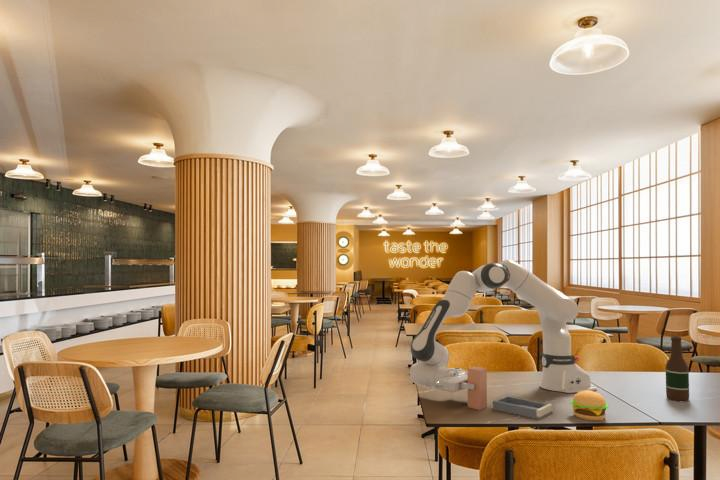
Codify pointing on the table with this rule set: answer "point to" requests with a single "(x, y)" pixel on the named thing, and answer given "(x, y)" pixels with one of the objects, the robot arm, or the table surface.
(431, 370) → the robot arm
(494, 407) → the slot board
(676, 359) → the beer bottle
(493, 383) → the table surface
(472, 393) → the post
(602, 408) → the hamburger
